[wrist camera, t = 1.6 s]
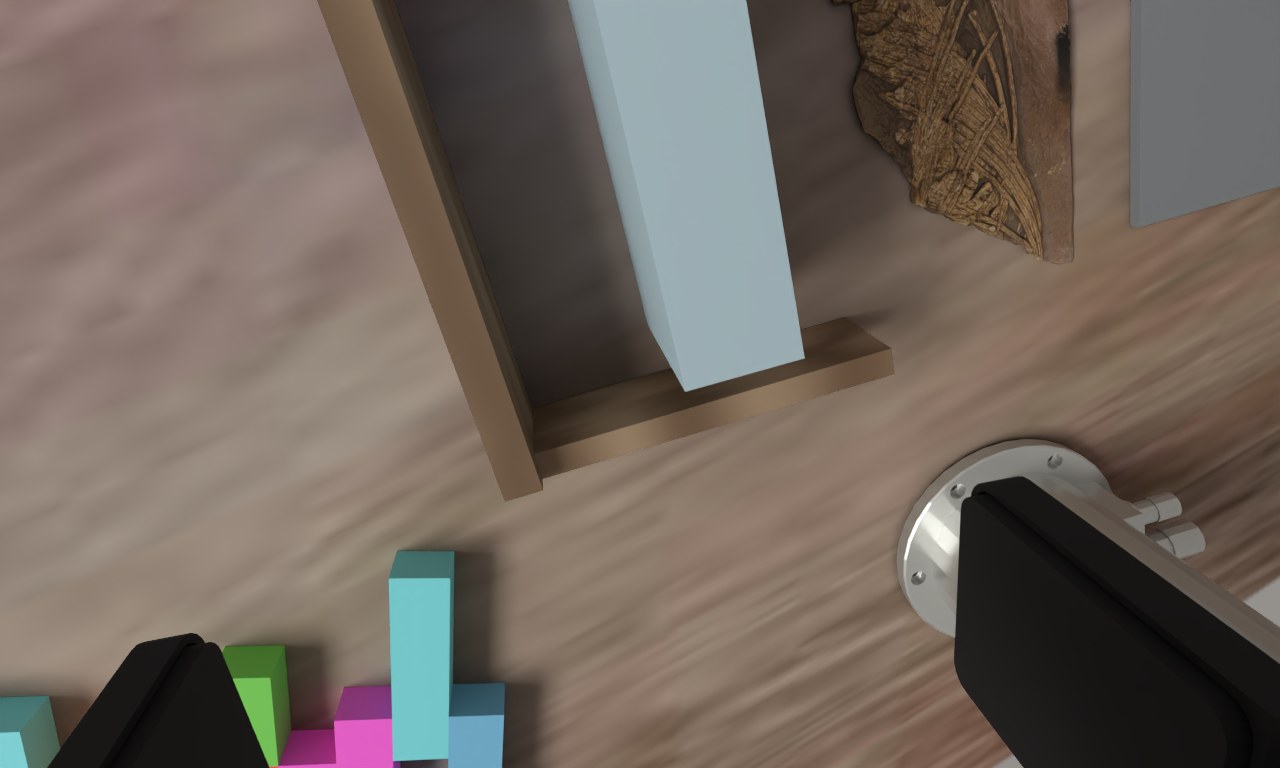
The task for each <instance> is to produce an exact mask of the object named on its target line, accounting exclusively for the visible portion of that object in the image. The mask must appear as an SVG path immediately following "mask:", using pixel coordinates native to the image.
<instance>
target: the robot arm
mask: <svg viewBox="0 0 1280 768" xmlns="http://www.w3.org/2000/svg"><path fill="white" fill-rule="evenodd" d="M1181 512H1182V507H1181V503H1180V502H1179V500H1178V498H1177V497H1176V496H1175V495H1174V494H1172V493H1170V492H1167V491H1166V492H1163V493H1160V494H1156V495H1153V496H1150V497H1147V498H1144V499H1142V500H1141V501H1138V502H1135V503H1131V502H1129V501H1123V500H1121V499H1120V498H1118V497H1117V496H1115V495H1114V494H1113V493H1112V491H1111V489H1110V486H1109V484H1108V482H1107V480H1106V478H1105V477H1104V475H1103V474H1102V473H1101V472H1100V470H1099V469H1098V468H1097V467H1096V466H1095V465H1094V464H1093V463H1091V462H1090V461H1089V460H1087V459H1086V458H1085V457H1083V456H1082V455H1080V454H1078V453H1077V452H1075V451H1073V450H1071V449H1069V448H1068V447H1066V446H1064V445H1061V444H1057V443H1054V442H1050V441H1047V440H1035V439H1021V440H1013V441H1005V442H1002V443H999V444H995V445H992V446H989V447H986V448H983V449H981V450H979V451H977V452H975V453H973V454H971V455H969V456H967V457H965V458H963V459H962V460H960V461H959V462H957V463H956V464H954V465H953V466H952V467H950V468H949V469H947V470H946V471H945V472H944V473H942V474H941V475H940V476H939V477H938V478H937V479H936V480H935V481H934V482H933V483H932V484H931V485H930V486H929V487H928V488H927V489H926V491H925V492H924V493H923V495H922V496H921V497H920V498H919V500H918V501H917V502H916V504H915V505H914V507H913V509H912V511H911V513H910V514H909V516H908V518H907V520H906V522H905V524H904V527H903V530H902V533H901V536H900V539H899V544H898V552H897V559H896V561H897V572H898V579H899V582H900V585H901V588H902V591H903V594H904V595H905V597H906V598H907V600H908V601H909V603H910V605H911V606H912V607H913V609H914V610H915V611H916V612H917V613H918V614H919V616H920V617H921V618H922V619H923V620H924V621H925V622H926V623H927V624H929V625H930V626H931V627H933V628H934V629H935V630H937V631H939V632H941V633H944V634H946V635H948V636H951V637H953V638H955V650H954V664H955V669H956V672H957V675H958V678H959V680H960V683H961V685H962V686H963V688H964V689H965V691H966V692H967V694H968V695H969V696H970V698H971V699H972V700H973V702H974V703H975V704H976V706H977V707H978V708H979V709H980V711H981V712H982V713H983V715H984V716H985V717H986V719H987V720H988V721H989V723H990V724H991V725H992V727H993V728H994V729H995V731H996V732H997V733H998V735H999V736H1000V737H1001V738H1002V740H1003V741H1004V742H1005V744H1006V745H1007V746H1008V748H1009V749H1010V750H1011V752H1012V753H1013V754H1014V756H1015V757H1016V758H1017V759H1018V761H1019V762H1020V764H1021V765H1022V766H1023V767H1024V768H1280V627H1279V626H1277V625H1276V624H1274V623H1273V622H1272V621H1270V620H1269V619H1267V618H1266V617H1264V616H1263V615H1261V614H1260V613H1258V612H1257V611H1256V610H1254V609H1252V608H1251V607H1250V606H1248V605H1247V604H1245V603H1244V602H1242V601H1241V600H1240V599H1238V598H1237V597H1235V596H1234V595H1232V594H1231V593H1229V592H1228V591H1226V590H1225V589H1224V588H1222V587H1221V586H1219V585H1218V584H1216V583H1215V582H1213V581H1212V580H1210V579H1209V578H1208V577H1206V576H1205V575H1203V574H1202V573H1200V572H1199V571H1197V570H1196V569H1194V568H1193V567H1192V566H1190V565H1189V564H1187V563H1186V562H1184V561H1183V560H1181V559H1183V558H1186V557H1189V556H1192V555H1195V554H1199V553H1201V552H1202V551H1204V550H1205V545H1206V543H1205V539H1204V536H1203V534H1202V532H1201V531H1200V529H1199V528H1198V527H1197V526H1196V525H1195V524H1194V523H1193V522H1192V521H1189V520H1186V519H1182V520H1178V521H1175V522H1172V523H1168V524H1165V525H1162V526H1159V527H1156V528H1152V529H1150V531H1149V532H1146V533H1145V525H1146V524H1149V523H1153V522H1154V523H1157V522H1160V521H1163V520H1166V519H1170V518H1173V517H1176V516H1179V515H1181ZM47 768H269V765H268V763H267V760H266V758H265V755H264V753H263V751H262V748H261V746H260V743H259V741H258V739H257V736H256V734H255V731H254V729H253V727H252V724H251V722H250V719H249V717H248V714H247V712H246V710H245V707H244V705H243V702H242V700H241V698H240V695H239V693H238V690H237V688H236V686H235V683H234V681H233V678H232V676H231V673H230V671H229V669H228V666H227V664H226V661H225V659H224V657H223V654H222V652H221V650H220V648H219V647H218V646H217V645H216V644H215V643H212V642H208V643H205V642H204V640H203V639H202V638H201V637H200V636H199V635H198V634H194V633H189V634H184V635H178V636H173V637H168V638H162V639H157V640H152V641H147V642H143V643H140V644H138V645H136V646H135V647H134V648H133V649H132V650H131V652H130V653H129V654H128V656H127V657H126V659H125V660H124V661H123V663H122V664H121V666H120V667H119V668H118V670H117V671H116V673H115V674H114V675H113V677H112V678H111V679H110V681H109V682H108V684H107V685H106V686H105V688H104V689H103V691H102V692H101V693H100V695H99V696H98V698H97V699H96V700H95V702H94V703H93V705H92V706H91V707H90V709H89V710H88V711H87V713H86V714H85V716H84V717H83V718H82V720H81V721H80V723H79V724H78V725H77V727H76V728H75V730H74V731H73V732H72V734H71V735H70V736H69V738H68V739H67V741H66V742H65V743H64V745H63V746H62V748H61V749H60V750H59V752H58V753H57V755H56V756H55V757H54V759H53V760H52V762H51V763H50V764H49V766H48V767H47Z"/></svg>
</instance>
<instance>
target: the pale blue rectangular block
mask: <svg viewBox="0 0 1280 768" xmlns="http://www.w3.org/2000/svg"><path fill="white" fill-rule="evenodd" d="M568 4H569V8H570V12H571V16H572V20H573V24H574V28H575V32H576V36H577V41H578V45H579V49H580V53H581V57H582V61H583V65H584V69H585V73H586V77H587V81H588V85H589V89H590V93H591V97H592V102H593V106H594V110H595V114H596V118H597V122H598V126H599V130H600V134H601V138H602V142H603V146H604V150H605V154H606V158H607V162H608V167H609V171H610V175H611V179H612V183H613V187H614V191H615V195H616V199H617V203H618V207H619V211H620V215H621V219H622V223H623V227H624V232H625V236H626V240H627V244H628V248H629V252H630V256H631V260H632V264H633V268H634V272H635V276H636V280H637V284H638V288H639V293H640V297H641V301H642V305H643V309H644V313H645V317H646V321H647V325H648V326H649V328H650V330H651V332H652V334H653V335H654V337H655V339H656V341H657V343H658V344H659V346H660V348H661V350H662V351H663V353H664V355H665V357H666V359H667V360H668V362H669V364H670V366H671V368H672V369H673V371H674V373H675V375H676V376H677V378H678V380H679V382H680V384H681V385H682V387H683V389H684V391H685V392H687V391H690V390H694V389H697V388H701V387H704V386H708V385H712V384H715V383H719V382H722V381H726V380H729V379H733V378H736V377H740V376H744V375H747V374H751V373H754V372H758V371H761V370H765V369H769V368H772V367H776V366H779V365H783V364H786V363H790V362H793V361H797V360H801V359H804V358H805V357H804V351H803V345H802V339H801V332H800V326H799V320H798V314H797V308H796V302H795V296H794V290H793V284H792V277H791V271H790V265H789V259H788V253H787V247H786V241H785V235H784V229H783V222H782V216H781V210H780V204H779V198H778V192H777V186H776V180H775V174H774V167H773V161H772V155H771V149H770V143H769V137H768V131H767V125H766V119H765V112H764V106H763V100H762V94H761V88H760V82H759V76H758V70H757V64H756V57H755V51H754V45H753V39H752V33H751V27H750V21H749V15H748V8H747V2H746V0H568Z"/></svg>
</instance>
